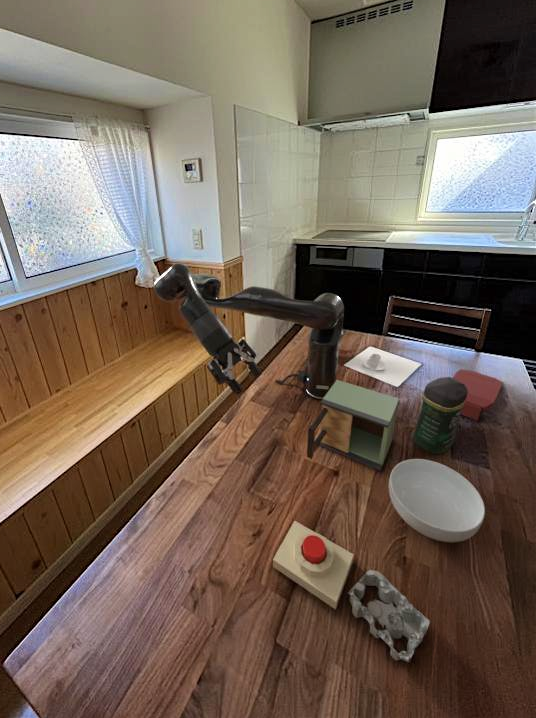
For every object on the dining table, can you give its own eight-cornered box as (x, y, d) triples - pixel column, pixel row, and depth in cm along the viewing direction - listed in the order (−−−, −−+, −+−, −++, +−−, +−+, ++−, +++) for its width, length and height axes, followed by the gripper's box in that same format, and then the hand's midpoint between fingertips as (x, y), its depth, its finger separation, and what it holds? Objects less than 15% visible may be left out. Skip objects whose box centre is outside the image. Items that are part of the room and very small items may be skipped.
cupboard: (317, 444, 89) (320, 402, 84) (333, 419, 98) (336, 379, 92) (380, 471, 81) (388, 425, 75) (391, 441, 89) (399, 398, 84)
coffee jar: (437, 460, 83) (453, 399, 75) (407, 441, 89) (419, 382, 82) (458, 444, 87) (475, 384, 80) (429, 426, 94) (442, 370, 86)
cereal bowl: (441, 573, 60) (449, 548, 57) (368, 501, 74) (372, 478, 71) (495, 528, 67) (504, 504, 64) (419, 469, 81) (424, 447, 78)
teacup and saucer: (370, 356, 129) (371, 347, 127) (391, 364, 124) (392, 354, 122) (359, 365, 124) (360, 356, 122) (379, 373, 118) (381, 364, 117)
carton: (457, 380, 118) (437, 405, 101) (461, 367, 117) (441, 391, 100) (499, 394, 111) (485, 423, 93) (503, 380, 109) (490, 408, 92)
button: (298, 555, 61) (299, 549, 60) (308, 537, 64) (308, 530, 63) (319, 568, 59) (320, 562, 58) (328, 549, 61) (329, 542, 61)
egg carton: (342, 604, 57) (344, 589, 55) (370, 575, 60) (372, 561, 59) (402, 674, 49) (406, 659, 47) (429, 635, 52) (434, 621, 51)
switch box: (272, 566, 62) (272, 553, 61) (294, 527, 69) (294, 514, 68) (335, 609, 56) (337, 595, 54) (352, 561, 63) (354, 548, 61)
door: (304, 465, 82) (306, 427, 77) (320, 439, 90) (323, 403, 85) (334, 479, 78) (338, 439, 73) (348, 451, 86) (353, 413, 81)
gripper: (221, 329, 93) (256, 376, 92) (185, 351, 83) (225, 404, 81) (235, 315, 88) (273, 365, 87) (200, 336, 78) (242, 393, 76)
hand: (250, 384), depth 84 cm, fingers open, 8 cm apart
